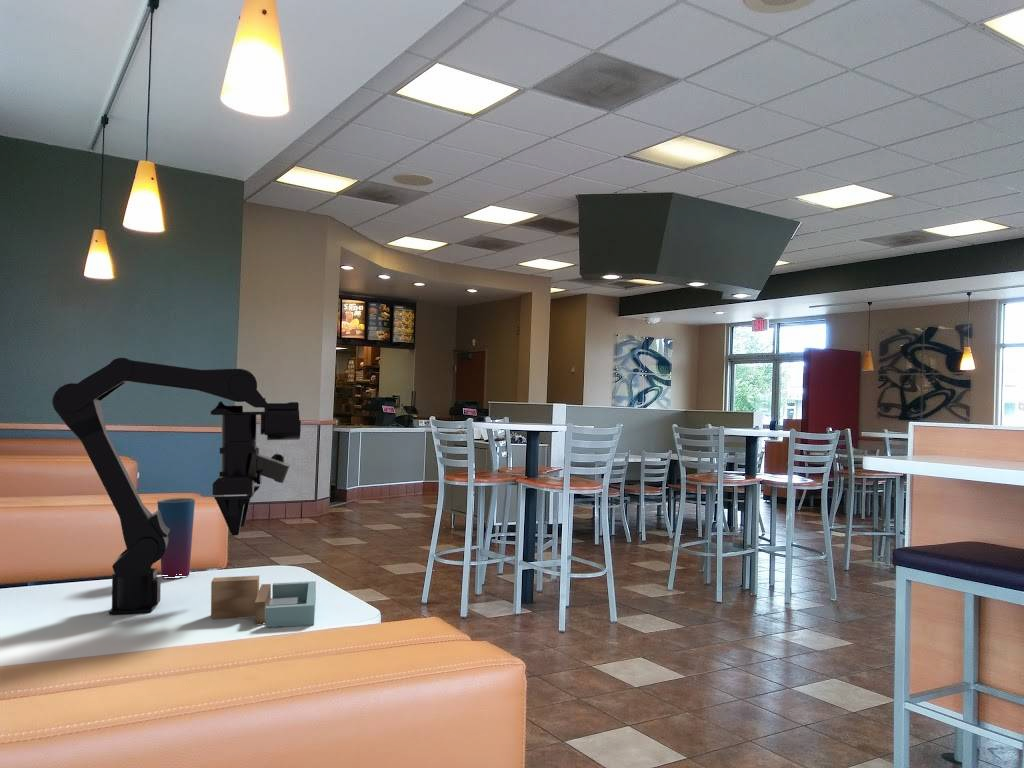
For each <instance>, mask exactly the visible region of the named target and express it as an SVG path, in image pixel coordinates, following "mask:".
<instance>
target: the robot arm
mask: <svg viewBox="0 0 1024 768" xmlns="http://www.w3.org/2000/svg"><path fill="white" fill-rule="evenodd" d="M129 382H130V383H136V384H145V385H151V386H161V387H166V388H167V387H169V388H176V389H184V390H191V391H199V392H203V393H205V394H208V395H212V396H214V397H215V396H216V397H218V398H222V399H226V400H229V401H232V402H236V403H242V402H245V403H246V404H248V405H250V406H251V407H252V408H261V409H263V411H244V406H243V405H225V404H224V403H223V401H222V400H220V401H219V402H217V403H218V404H217V405H216V406H215V407H214V408H213V409H212V410H210V415H211V416H221V446H220V447H219V454H221V462H220V463H221V464H220V465H221V466H220V467H221V469H220V471H219V477H218V478H217V479H216V480H215V481H214V482H213V483H212V496H214V497H213V498H214V500H215V502H216V503H217V506H218V508H219V510H220V512H221V514H222V516H223V518H224V521H225V523H226V525H227V527H228V529H229V532H230V534H231V536H239V534H240V530H241V528H242V527H243V528H244V527H245V525H246V522H247V517H248V512H249V507H250V503H251V499H252V498H253V496H254V494H255V492H256V491H258V490H259V489H260V488H261V484H262V477H265V478H268V479H272V480H273V481H275V482H277V483H280V484H283V483H284V482H285V479H286V477H287V474H288V471H289V468H290V466H291V465H290V463H288V462H285V456H284V455H283V454H279V453H277V452H276V453H275V454H273V455H272V456H270V457H269V456H267V455H266V456H265V455H263V454H260V448H259V447H258V445H257V416H260V417H259V418H260V419H259V420H260V421H259V429H260V430H259V433H260V436H262V435H263V436H266V441H300V439H301V431H302V430H301V428H302V427H301V425H302V422H301V419H300V410H299V409H300V408H299V402H297V401H291V402H290V401H289V402H284V403H281V402H275V403H274V402H273V403H272V402H271V403H269V402H267V401H266V397H263V395H262V394H261V393H260V392H259V391H258V382H257V379H256V377H255V376H254V374H253V373H252V372H251V371H250V370H247V369H243V368H218V369H217V368H216V369H195V368H191V367H190V368H189V367H181V366H175V365H170V364H169V365H167V364H162V363H153V362H147V361H139V360H132V359H130V358H129V359H128V358H126V357H117V358H114V359H113V360H112V361H111V362H109V363H108V364H107V365H106V366H103V367H102V368H100V369H99V370H96V371H95V372H94V373H91V375H88V376H87V377H85V378H83V379H82V380H80V381H79V382H76V383H74V382H73V383H72V382H70V383H66V384H64V385H62V386H60V387H59V388H57V390H56V391H55V392H54V395H53V397H52V400H51V401H52V402H51V403H52V404H51V405H52V407H53V409H54V411H55V412H56V414H57V415H58V416H59V417H60V419H61V420H62V421H63V423H64V424H65V426H67V427H68V429H69V430H70V431H71V432H72V433H73V434H74V435H75V436H76V437H77V438H78V439H79V440H80V443H81V444H82V446H83V448H84V449H85V452H86V453H87V456H88V458H89V459H90V462H91V463H92V466H93V467H94V469H95V472H96V474H97V476H98V477H99V479H100V481H101V483H102V485H103V487H104V489H105V491H106V493H107V496H108V497H109V499H110V501H111V503H112V505H113V507H114V509H115V511H116V512H117V515H118V518H119V520H120V522H119V523H120V526H121V531H122V536H123V541H124V543H125V544H124V545H125V548H126V549H124V550H123V552H122V553H120V554H119V556H118V557H117V558H116V560H115V562H114V563H113V565H112V570H113V572H112V575H111V576H112V577H111V585H112V586H111V608H110V609H109V610H108V614H109V615H113V614H115V615H117V614H133V613H134V614H137V613H150V612H152V611H154V609H155V608H156V607H157V606H158V605H159V604H160V602H161V580H162V579H161V578H162V577H159V576H158V567H154V568H152V566H153V565H154V564H155V563H157V562H158V561H161V557H162V556H163V555H164V552H165V550H166V547H167V545H168V533H169V531H170V529H169V528H168V527H167V526H166V525H165V524H164V522H163V519H162V516H161V512H160V510H158V509H157V510H156V511H154V512H153V513H152V512H151V511H150V510H149V509H148V508H147V507H146V506H145V505H144V503H143V501H142V499H141V498H140V495H139V493H138V491H137V490H136V487H135V485H134V483H133V481H132V479H131V477H130V476H129V474H128V471H127V470H126V467H125V465H124V463H123V461H122V460H121V458H120V455H119V454H118V451H117V449H116V447H115V445H114V444H113V441H112V440H111V438H110V435H109V434H108V431H107V427H106V422H105V416H104V412H103V407H102V404H101V401H103V400H105V398H106V397H108V396H110V395H111V394H113V392H115V391H116V390H118V389H119V388H121V387H122V386H123V385H124V384H126V383H129ZM255 484H256V485H255Z"/></svg>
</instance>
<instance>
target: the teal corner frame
mask: <svg viewBox="0 0 1024 768" xmlns="http://www.w3.org/2000/svg"><path fill="white" fill-rule="evenodd" d="M316 587H317V581H316V580H314V581H312V580H311V581H291V582H275V583H272V588H271V589H272V591H271V592H272V593H271V595H272V597H271V598H285V597H298V602H306V603H300V604H299V603H298V604H294V605H277V606H266V608H265V624H264V625H265V626H264V628H265V629H269V628H268V627H272V628H277V627H276V626H288V627H298V626H299V627H301V626H302V627H303V626H314V625H315V615H316V612H315V611H316V603H317V602H316V600H317V598H316V597H317V590H316Z"/></svg>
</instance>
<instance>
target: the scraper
mask: <svg viewBox="0 0 1024 768" xmlns="http://www.w3.org/2000/svg"><path fill="white" fill-rule="evenodd" d="M271 585H272V584H271V583H266V584H265V583H262V584H261V585H260V575H240V576H239V575H237V576H220V577H218V576H217V577H213V579H212V580H211V583H210V587H211V588H210V593H211V594H210V620H211V621H213V620H214V621H215V620H216V621H217V620H230V619H244V618H249V619H250V618H254V625H255V626H258V624H261V625H264V624H263V623H265V608H266V606H269V603H270V599H271V598H272V597H271V595H272V593H271V592H272V591H271V589H272V588H271Z"/></svg>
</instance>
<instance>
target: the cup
mask: <svg viewBox="0 0 1024 768" xmlns="http://www.w3.org/2000/svg"><path fill="white" fill-rule="evenodd" d="M195 504H196V499H195V498H192V497H173V498H163V499H159V500H157V511H158V510H160V512H161V516H162V519H163V522H164V524H165V525H166V526H167V527H168V528H169V529H170V531H169V533H168V545H167V547H166V550H165V552H164V555H163V556H162V557H161V559H160V567H161V569H160V572H161V573H160V574H161V578H162V577H175V576H187V575H189V576H190V571H191V569H190V568H191V556H192V544H193V532H194V531H193V528H194V517H195ZM176 574H177V575H176ZM179 574H182V575H179ZM162 575H168V576H162Z"/></svg>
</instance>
